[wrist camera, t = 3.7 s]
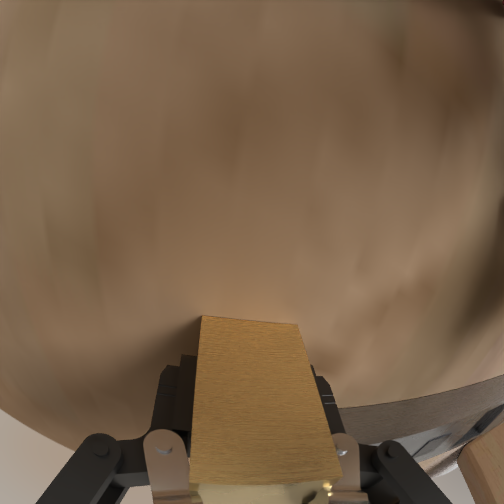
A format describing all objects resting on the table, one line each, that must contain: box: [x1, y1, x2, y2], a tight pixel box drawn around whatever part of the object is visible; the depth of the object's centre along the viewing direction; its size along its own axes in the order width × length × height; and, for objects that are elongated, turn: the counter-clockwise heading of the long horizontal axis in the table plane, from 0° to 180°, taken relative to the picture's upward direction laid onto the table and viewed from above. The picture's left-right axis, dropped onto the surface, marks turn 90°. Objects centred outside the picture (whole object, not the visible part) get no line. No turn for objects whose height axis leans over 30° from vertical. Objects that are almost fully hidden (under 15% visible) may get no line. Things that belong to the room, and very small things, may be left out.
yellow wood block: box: [189, 315, 343, 504], centre depth 9 cm, size 4×4×7 cm
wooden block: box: [457, 423, 504, 504], centre depth 19 cm, size 10×10×20 cm
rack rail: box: [338, 375, 504, 463], centre depth 17 cm, size 7×30×3 cm, turn 80°
